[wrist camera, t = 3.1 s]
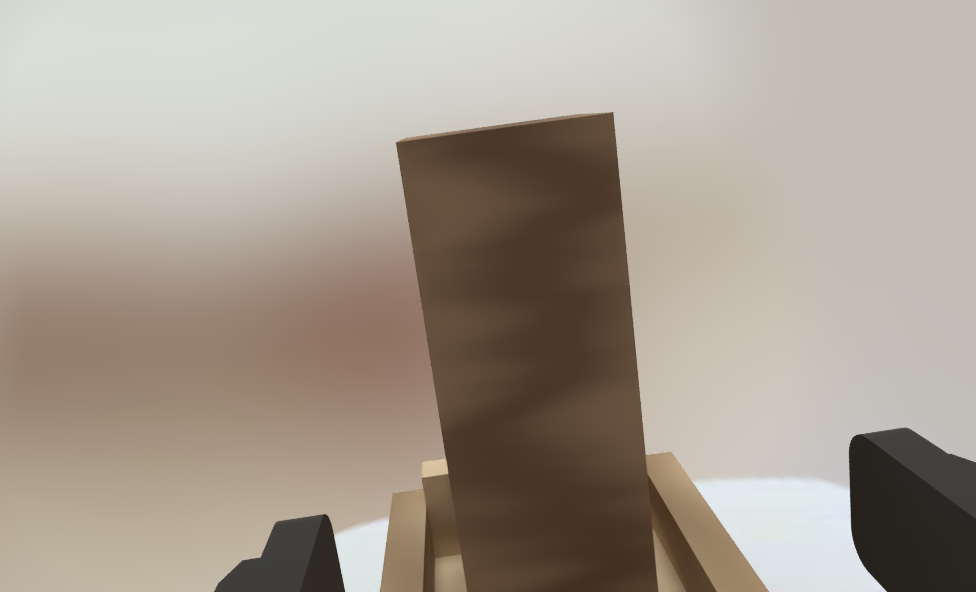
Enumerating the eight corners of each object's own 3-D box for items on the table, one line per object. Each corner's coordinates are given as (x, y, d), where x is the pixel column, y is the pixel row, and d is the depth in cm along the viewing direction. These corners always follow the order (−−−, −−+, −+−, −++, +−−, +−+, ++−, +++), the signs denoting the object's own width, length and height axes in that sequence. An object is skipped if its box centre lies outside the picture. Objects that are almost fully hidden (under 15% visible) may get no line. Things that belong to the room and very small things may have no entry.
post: (479, 670, 21) (395, 142, 17) (472, 565, 25) (406, 138, 22) (663, 641, 21) (613, 112, 18) (620, 542, 26) (576, 114, 22)
